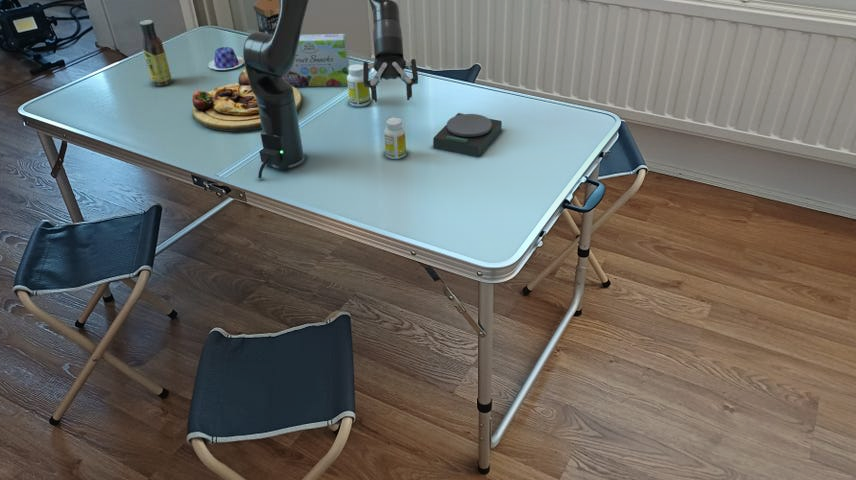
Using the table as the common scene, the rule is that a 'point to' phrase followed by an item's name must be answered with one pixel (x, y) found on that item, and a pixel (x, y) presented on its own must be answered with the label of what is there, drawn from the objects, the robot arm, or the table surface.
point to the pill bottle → (357, 86)
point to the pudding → (225, 59)
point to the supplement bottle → (395, 139)
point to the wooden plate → (231, 106)
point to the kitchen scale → (467, 134)
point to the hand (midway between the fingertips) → (392, 100)
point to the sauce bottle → (155, 55)
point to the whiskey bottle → (267, 15)
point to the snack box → (320, 61)
